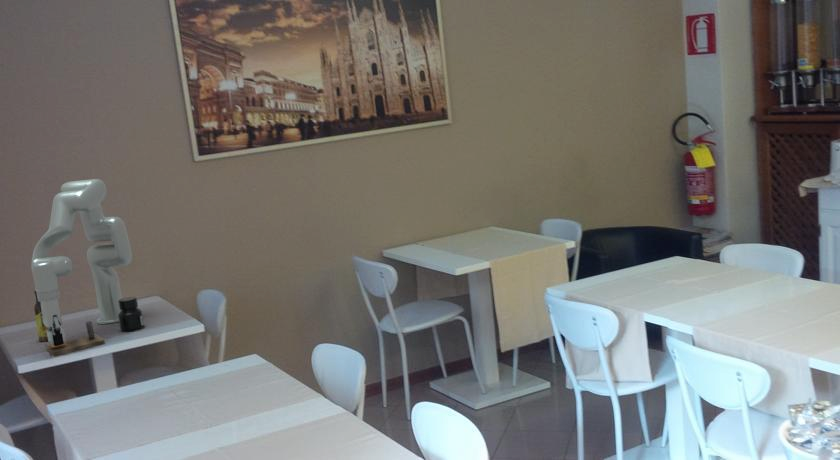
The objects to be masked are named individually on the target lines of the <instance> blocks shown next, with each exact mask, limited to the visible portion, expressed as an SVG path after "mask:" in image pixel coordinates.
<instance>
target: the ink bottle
mask: <svg viewBox="0 0 840 460" xmlns="http://www.w3.org/2000/svg"><path fill="white" fill-rule="evenodd" d="M118 302H119V308H120V310H121V311H120V313H119V314H118V318H119V322H118V323H119V329H120V331H121V332H126V333H127V332H133V331H137V330H141V329H143V328H144V327H145V322H144V315H143V311H142V309H139V303H138V299H137V296H128V297H127V296H126V297H124V298H123V297H122V299H120V300H119V301H118Z"/></svg>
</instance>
